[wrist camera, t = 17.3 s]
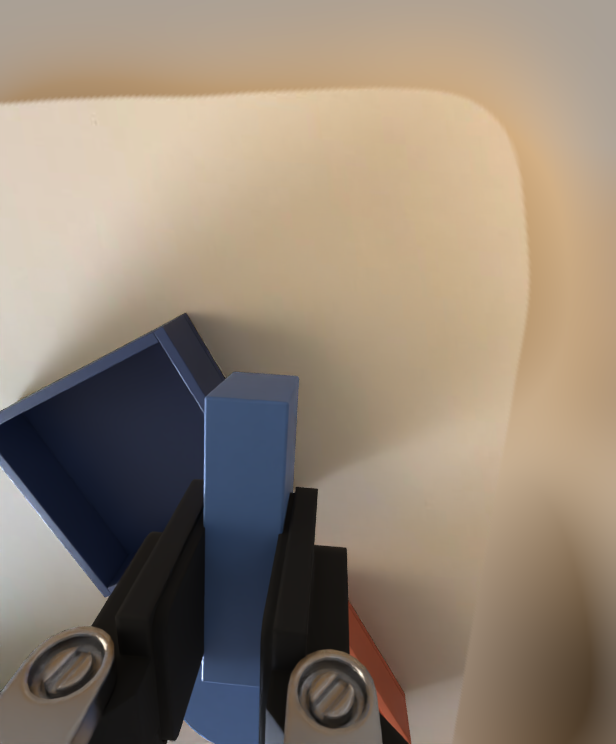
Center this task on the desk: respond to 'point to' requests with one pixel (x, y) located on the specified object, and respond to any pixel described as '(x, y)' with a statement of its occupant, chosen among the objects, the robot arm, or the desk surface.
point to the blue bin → (114, 446)
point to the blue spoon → (241, 543)
